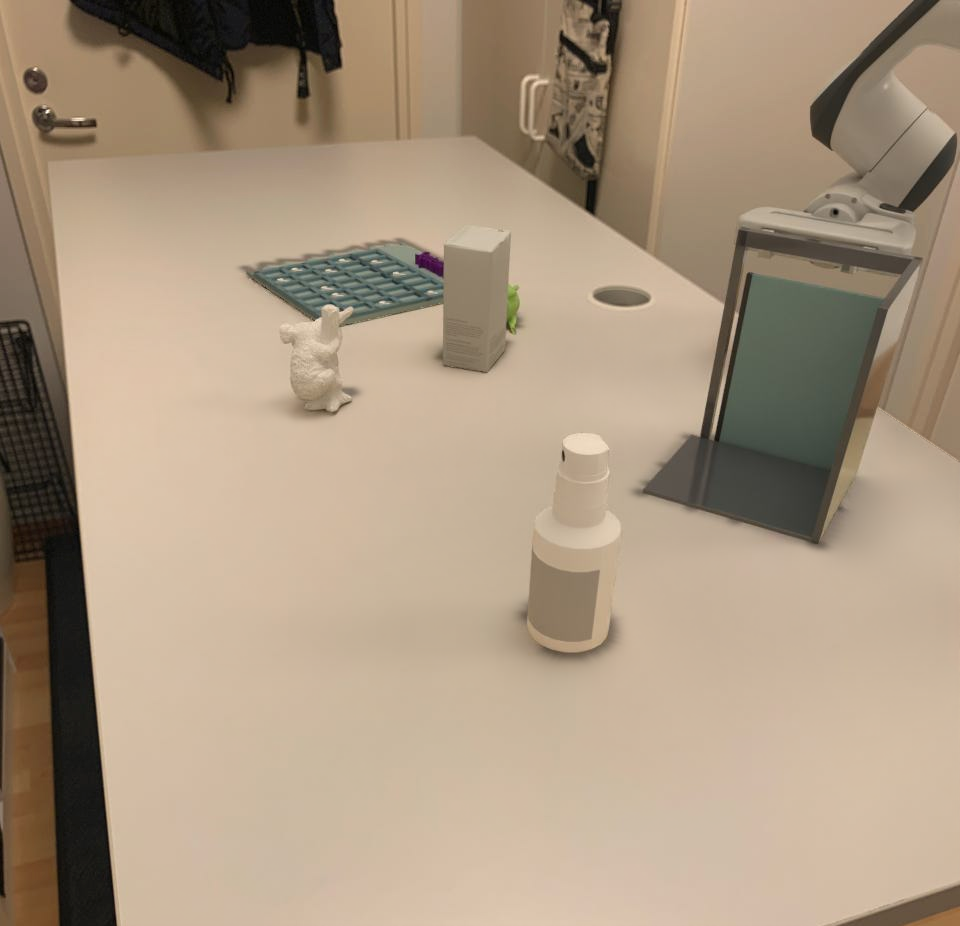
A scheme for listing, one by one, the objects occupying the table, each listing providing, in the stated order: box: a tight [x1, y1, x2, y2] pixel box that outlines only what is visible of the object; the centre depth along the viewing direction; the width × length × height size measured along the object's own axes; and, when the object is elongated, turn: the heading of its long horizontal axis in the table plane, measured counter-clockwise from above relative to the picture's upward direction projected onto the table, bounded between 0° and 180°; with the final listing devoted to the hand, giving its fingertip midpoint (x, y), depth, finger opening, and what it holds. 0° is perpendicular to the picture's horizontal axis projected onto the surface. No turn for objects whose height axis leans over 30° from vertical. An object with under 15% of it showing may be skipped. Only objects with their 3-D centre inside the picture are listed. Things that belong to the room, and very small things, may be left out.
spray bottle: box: [526, 432, 623, 653], centre depth 74 cm, size 7×7×18 cm
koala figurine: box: [279, 304, 354, 413], centre depth 109 cm, size 8×7×12 cm
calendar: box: [245, 241, 444, 327], centre depth 145 cm, size 27×28×2 cm
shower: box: [642, 227, 924, 545], centre depth 91 cm, size 18×16×24 cm
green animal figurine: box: [506, 283, 521, 334], centre depth 132 cm, size 6×5×6 cm
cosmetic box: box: [442, 224, 512, 373], centre depth 119 cm, size 8×7×16 cm
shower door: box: [713, 271, 885, 471], centre depth 99 cm, size 14×6×19 cm, turn 60°
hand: (805, 258), depth 106 cm, fingers open, 8 cm apart
